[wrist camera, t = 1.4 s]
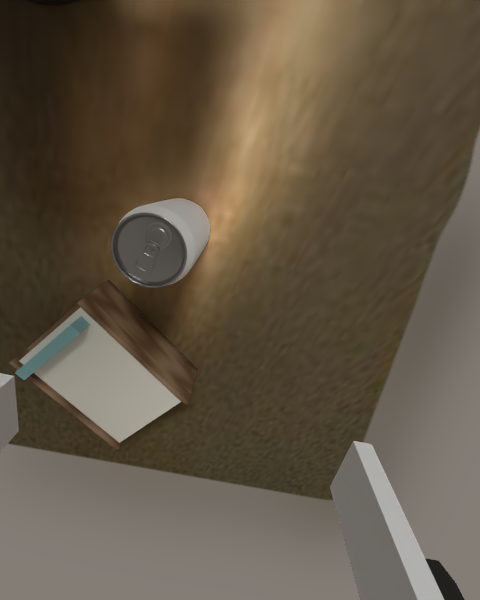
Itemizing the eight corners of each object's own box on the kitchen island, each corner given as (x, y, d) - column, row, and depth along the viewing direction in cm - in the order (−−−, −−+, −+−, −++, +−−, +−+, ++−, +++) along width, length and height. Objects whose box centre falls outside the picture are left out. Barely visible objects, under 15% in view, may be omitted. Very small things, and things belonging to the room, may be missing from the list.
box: (46, 334, 38) (8, 363, 32) (108, 280, 35) (80, 300, 29) (135, 412, 43) (117, 450, 37) (197, 369, 40) (188, 402, 34)
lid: (26, 355, 34) (5, 371, 31) (86, 302, 31) (69, 315, 28) (123, 435, 38) (112, 456, 35) (183, 394, 35) (177, 414, 32)
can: (221, 218, 32) (208, 237, 21) (193, 267, 35) (168, 307, 23) (168, 185, 31) (125, 187, 20) (143, 237, 33) (91, 265, 22)
